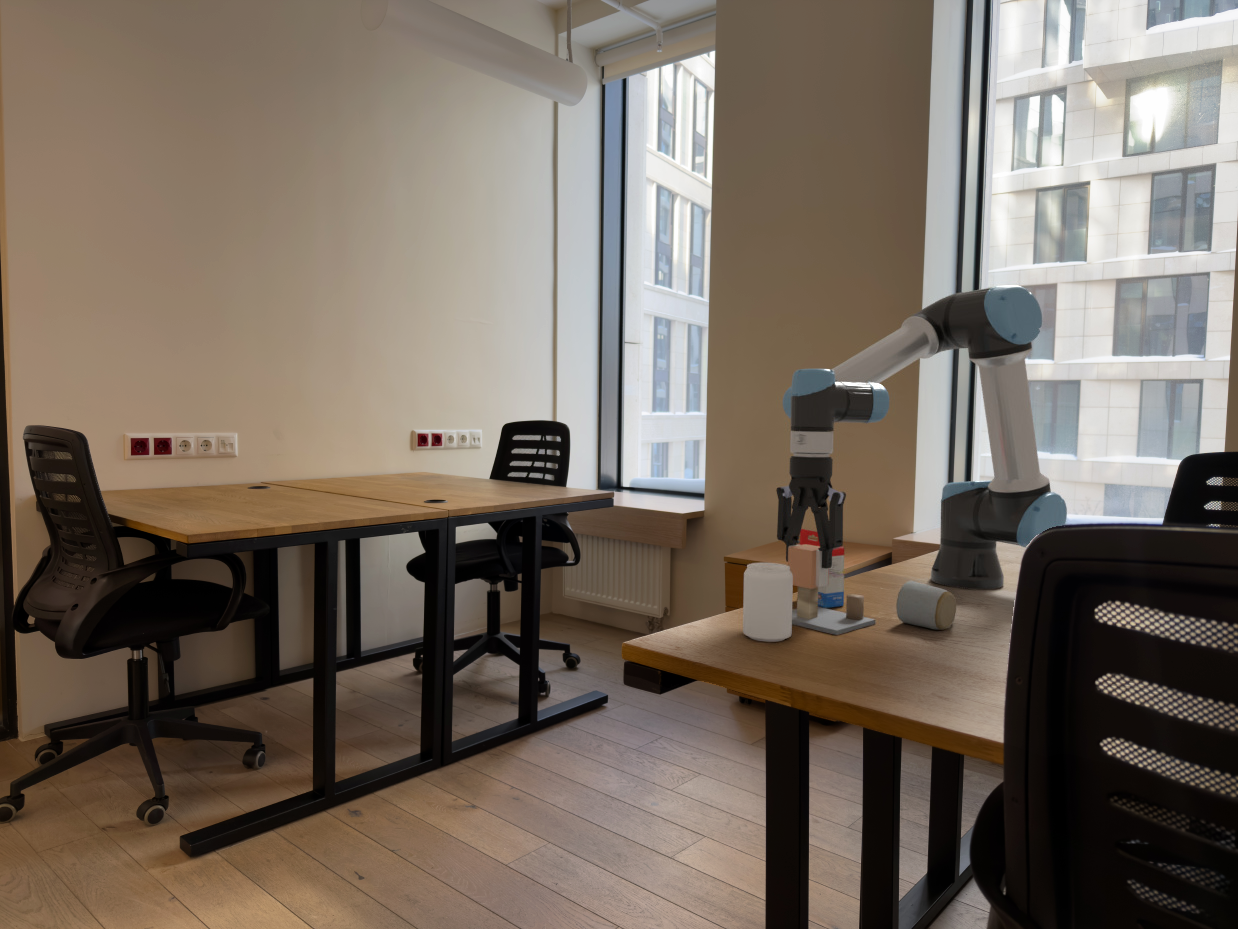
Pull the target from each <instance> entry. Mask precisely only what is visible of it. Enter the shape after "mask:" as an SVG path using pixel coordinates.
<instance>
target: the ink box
mask: <svg viewBox="0 0 1238 929" xmlns="http://www.w3.org/2000/svg"><path fill="white" fill-rule="evenodd" d="M813 536H814V537H815V538H817V540H816V539H810V537H813ZM799 541H800V543H798V545H804V544H807V545H813V546H820V543H819V538H818V533H817V530H810V529H805V528H801V532H800V536H799ZM844 601H845V547H843V546H842V547H838V548H835V549H833V551H832V566H831V568H829V583H828V585H827V586H822V587H818V607H821V608H825V609H831V608H838V607H844V604H845V603H844Z"/></svg>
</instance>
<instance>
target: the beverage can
mask: <svg viewBox="0 0 1238 929" xmlns="http://www.w3.org/2000/svg"><path fill="white" fill-rule="evenodd" d="M746 567H747V568H746V569H745V571H744V572H743V598H742V599H743V602H742V603H743V605H742V606H743V610H742V611H743V612H742V614H743V615H742V632H743V635H745V636H747V637H748V638H750V639H751V640H755V641H759V642H770V643H773V642H776V643H777V642H781V641H784V640H785V639H788V638H790V637H792V632H793V630H792V627H793V624H792V610H793V594H794V593H793V591H794V590H793V586H794V585H793V575H792V573H791V571H790V567H789V566H788V564H784V563H776V562H752V563H748V564H747V565H746Z"/></svg>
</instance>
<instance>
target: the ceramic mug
mask: <svg viewBox="0 0 1238 929" xmlns="http://www.w3.org/2000/svg"><path fill="white" fill-rule="evenodd" d="M956 600H957V599H956V598H955V595H954V594H953V593H952V592H950V591H949V590H946V589H944V588H941V587H937V586H932V585H929V584H925V583H921V582H918V581H914V580H908V581H906V582H905V583H904V584H903V585H902V586H901V588H900V590H899V591H898V595H897V597H896V615H897V617H898V619H899V620H900V622H902V623H903V624H909V625H913V626H918V627H924V628H927V629H931V630H935V631H936V630H937V631H938V630H940V631H943V630H946V629H948V628H949V627H950V626H951V625H952V624H953V623H955V622H954V621H955V619H956V614H957V601H956Z"/></svg>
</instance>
